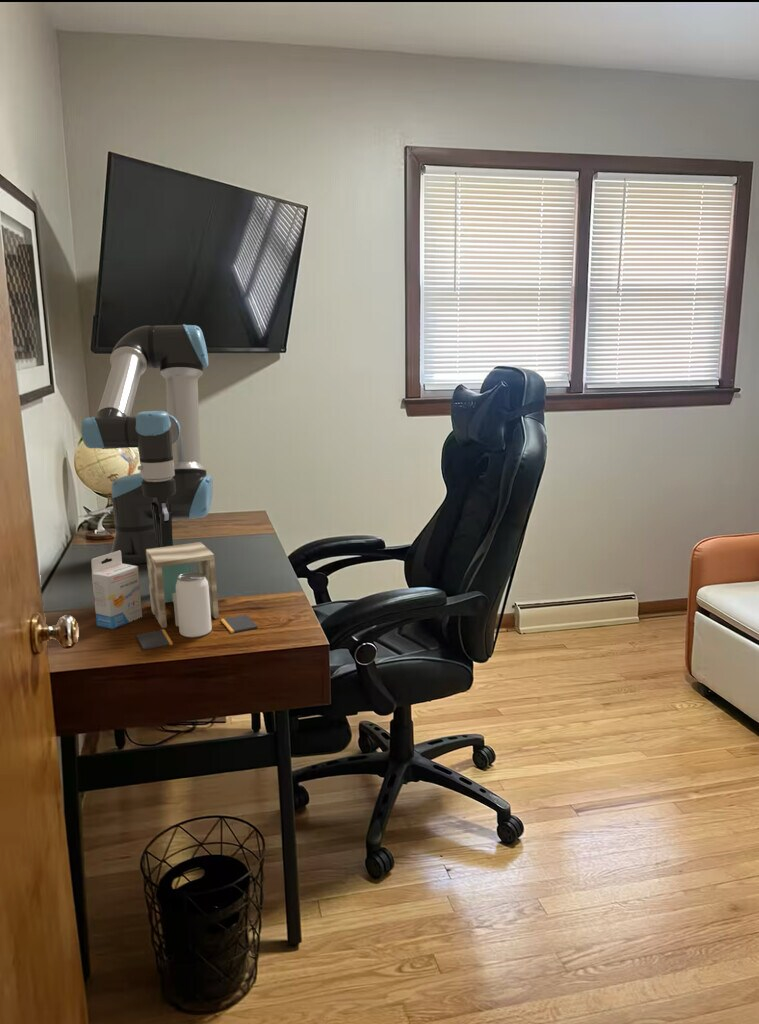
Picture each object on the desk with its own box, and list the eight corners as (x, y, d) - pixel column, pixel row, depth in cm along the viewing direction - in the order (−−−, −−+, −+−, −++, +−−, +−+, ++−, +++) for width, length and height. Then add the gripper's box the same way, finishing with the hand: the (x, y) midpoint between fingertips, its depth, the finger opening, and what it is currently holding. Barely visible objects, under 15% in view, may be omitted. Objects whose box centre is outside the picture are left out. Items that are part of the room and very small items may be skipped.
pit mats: (136, 636, 152) (136, 634, 152) (246, 616, 162) (246, 614, 162) (143, 650, 145) (143, 648, 145) (257, 628, 155) (257, 626, 155)
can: (192, 624, 158) (188, 570, 155) (218, 628, 155) (214, 573, 152) (172, 635, 152) (167, 579, 149) (198, 640, 149) (194, 582, 147)
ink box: (113, 630, 156) (105, 562, 152) (96, 626, 158) (88, 559, 155) (143, 616, 163) (137, 551, 160) (127, 613, 165) (120, 549, 162)
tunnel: (151, 610, 166) (145, 549, 163) (205, 601, 172) (200, 541, 168) (162, 628, 156) (156, 562, 153) (218, 617, 161) (214, 554, 158)
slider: (156, 601, 171) (153, 563, 169) (191, 595, 174) (188, 558, 172) (174, 628, 154) (170, 586, 152) (212, 621, 158) (209, 580, 156)
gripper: (136, 475, 177) (146, 569, 183) (146, 485, 166) (156, 585, 172) (168, 472, 181) (177, 565, 186) (180, 481, 169) (189, 580, 175)
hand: (167, 574), depth 179 cm, fingers closed
